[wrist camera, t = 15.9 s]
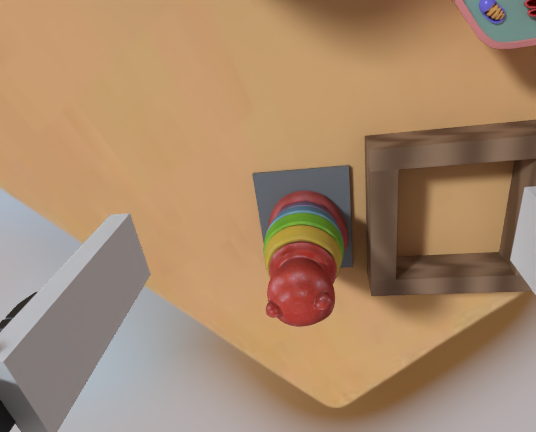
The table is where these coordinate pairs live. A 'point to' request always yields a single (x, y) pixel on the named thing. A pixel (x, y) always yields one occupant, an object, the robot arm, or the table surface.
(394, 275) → the square wooden frame
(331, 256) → the stacking bear
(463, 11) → the cell model
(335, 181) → the rubber mat
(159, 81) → the table surface
